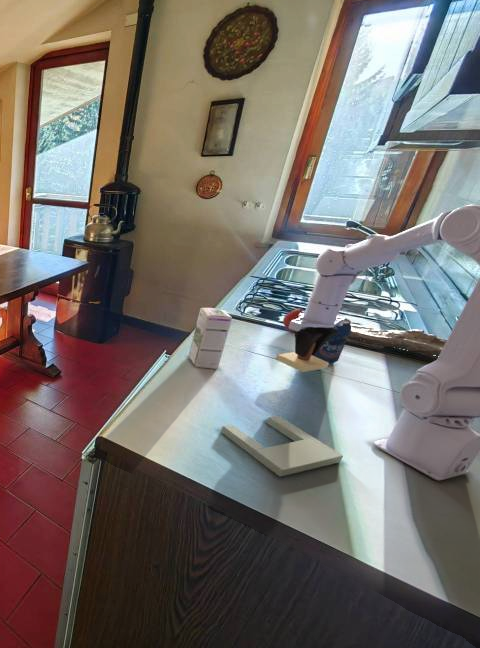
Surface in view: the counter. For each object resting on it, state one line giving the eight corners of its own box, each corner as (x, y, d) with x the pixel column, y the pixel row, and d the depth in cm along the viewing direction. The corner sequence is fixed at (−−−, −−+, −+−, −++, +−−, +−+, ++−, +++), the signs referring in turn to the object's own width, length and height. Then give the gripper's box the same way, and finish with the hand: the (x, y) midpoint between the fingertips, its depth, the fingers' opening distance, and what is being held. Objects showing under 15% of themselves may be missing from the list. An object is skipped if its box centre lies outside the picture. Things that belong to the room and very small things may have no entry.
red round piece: (275, 329, 123) (284, 306, 120) (286, 326, 126) (294, 303, 122) (296, 337, 118) (305, 312, 115) (306, 333, 121) (316, 310, 118)
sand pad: (326, 368, 94) (336, 345, 91) (302, 372, 92) (311, 349, 89) (299, 356, 99) (308, 334, 97) (275, 359, 97) (283, 337, 95)
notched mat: (339, 462, 69) (343, 455, 69) (279, 476, 66) (282, 470, 65) (275, 421, 80) (277, 415, 79) (220, 431, 76) (222, 425, 76)
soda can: (318, 365, 102) (335, 324, 97) (296, 353, 108) (312, 313, 103) (343, 365, 102) (362, 324, 97) (320, 353, 108) (337, 313, 104)
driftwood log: (303, 325, 130) (300, 335, 124) (307, 310, 128) (304, 320, 122) (464, 353, 108) (471, 368, 102) (473, 336, 106) (481, 350, 100)
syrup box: (218, 369, 99) (234, 317, 94) (193, 366, 100) (207, 314, 95) (210, 359, 104) (225, 308, 99) (186, 356, 105) (200, 306, 100)
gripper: (329, 294, 95) (309, 344, 100) (284, 298, 91) (266, 350, 96) (363, 304, 88) (340, 356, 94) (316, 308, 85) (294, 363, 90)
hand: (304, 354), depth 95 cm, fingers closed on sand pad, 2 cm apart
